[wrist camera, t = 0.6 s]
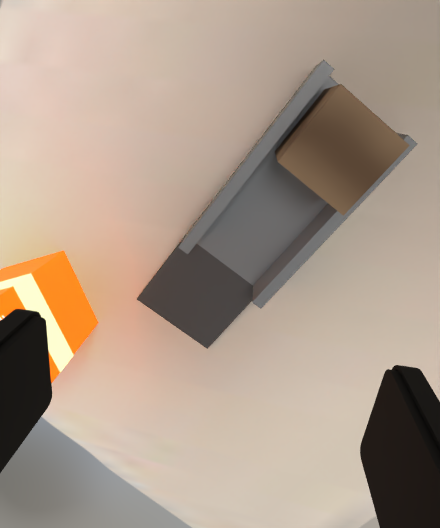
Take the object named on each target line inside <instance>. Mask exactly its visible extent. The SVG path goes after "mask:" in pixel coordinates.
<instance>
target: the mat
mask: <svg viewBox="0 0 440 528" xmlns="http://www.w3.org/2000/svg"><path fill="white" fill-rule="evenodd" d="M184 238H185V237H184ZM184 238H183V239H184ZM182 241H183V240H182ZM182 241H181V242H180V243H179V245H178V246H177V247H176V249H175V250H174V251H173V252H172V254H171V255H170V256H169V258H168V259H167V260H166V262H165V263H164V264H163V265H162V267H161V268H160V269H159V271H158V272H157V273H156V275H155V276H154V277H153V278H152V280H151V281H150V282H149V284H148V285H147V286H146V288H145V289H144V290H143V291H142V293H141V294H140V295H139V297H138V298H137V300H139V301H140V302H142V303H143V304H144V305H146V306H147V307H149V308H150V309H152V310H153V311H154V312H156V313H157V314H159V315H160V316H162V317H163V318H164V319H166V320H167V321H169V322H170V323H171V324H173V325H174V326H176V327H177V328H179V329H180V330H181V331H183V332H184V333H186V334H187V335H189V336H190V337H191V338H193V339H194V340H196V341H197V342H199V343H200V344H201V345H203V346H204V347H206V348H208V347H209V346H210V345H211V344H212V343H213V342H214V341H215V340H216V339H217V338H218V337H219V336H220V334H221V333H222V332H223V331H224V330H225V329H226V328H227V327H228V326H229V325H230V324H231V323H232V322H233V320H234V319H235V318H236V317H237V316H238V315H239V314H240V313H241V312H242V311H243V310H244V309H245V308H246V306H247V305H248V304H249V303H250V302H251V301H252V297H253V285H251V284H250V283H249V282H247V281H246V280H245V279H243V278H242V277H241V276H239V275H238V274H237V273H235V272H234V271H233V270H231V269H230V268H229V267H227V266H226V265H225V264H223V263H222V262H221V261H219V260H218V259H217V258H215V257H214V256H213V255H211V254H210V253H209V252H207V251H206V250H205V249H203V248H202V247H201V246H199V245H198V244H197V243H196V245H195V246H194V247H193V248H192V250H191V251H190V252H189V254H187V253H185V252H184V251H183V250H181V249H180V248H179V246H180V244H181V243H182Z"/></svg>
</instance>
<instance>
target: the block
mask: <svg viewBox="0 0 440 528" xmlns="http://www.w3.org/2000/svg"><path fill="white" fill-rule="evenodd" d="M409 146H410V145H409V144H408V143H407V142H405V141H404V140H403V139H402V138H401V137H400V136H399V135H398V134H396V133H395V132H394V131H393V130H392V129H391V128H390V127H389V126H387V125H386V124H385V123H384V122H383V121H382V120H381V119H380V118H378V117H377V116H376V115H375V114H374V113H373V112H372V111H371V110H370V109H368V108H367V107H366V106H365V105H364V104H363V103H362V102H361V101H359V100H358V99H357V98H356V97H355V96H354V95H353V94H352V93H350V92H349V91H348V90H347V89H346V88H345V87H344V86H343V85H341V84H339V85H336V86H333V87H330V88H327V89H324V90H323V92H322V93H321V94H320V95H319V97H318V98H317V99H316V100H315V102H314V103H313V104H312V105H311V107H310V108H309V109H308V110H307V112H306V113H305V114H304V115H303V117H302V118H301V119H300V120H299V122H298V123H297V124H296V125H295V127H294V128H293V129H292V130H291V132H290V133H289V134H288V135H287V137H286V138H285V139H284V140H283V142H282V143H281V144H280V146H279V147H278V148H277V149H276V151H275V154H276V158H277V161H278V162H279V163H280V164H281V165H282V166H283V167H285V168H286V169H287V170H288V171H289V172H291V173H292V174H293V175H294V176H296V177H297V178H298V179H299V180H300V181H302V182H303V183H304V184H305V185H306V186H308V187H309V188H310V189H311V190H313V191H314V192H315V193H316V194H317V195H319V196H320V197H321V198H322V199H323V200H325V201H326V202H327V203H328V204H330V205H331V206H332V207H333V208H334V209H336V210H337V211H338V212H339V213H340V214H342V215H343V216H344V215H345V214H346V213H347V211H348V210H349V209H350V208H351V207H352V206H353V205H354V204H355V203H356V202H357V201H358V200H359V199H360V198H361V197H362V196H363V194H364V193H365V192H366V191H367V190H368V189H369V188H370V187H371V186H372V185H373V184H374V183H375V182H376V181H377V180H378V179H379V178H380V176H381V175H382V174H383V173H384V172H385V171H386V170H387V169H388V168H389V167H390V166H391V165H392V164H393V163H394V162H395V161H396V160H397V158H398V157H399V156H400V155H401V154H402V153H403V152H404V151H405V150H406V149H407V148H408V147H409Z"/></svg>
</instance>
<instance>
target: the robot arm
mask: <svg viewBox="0 0 440 528" xmlns="http://www.w3.org/2000/svg"><path fill="white" fill-rule="evenodd" d="M51 398H52V386H51V374H50V362H49V350H48V338H47V326H46V320H45V318H43V317H41V315H40V313H39V312H37V311H31V310H25V309H15V310H13V311H12V312H11V313H9V314H8V315H7V316H6V317H5V318H3V319H2V320H1V321H0V473H1V471H2V470H3V469H4V467H5V466H6V464H7V463H8V462H9V460H10V459H11V457H12V456H13V455H14V453H15V452H16V451H17V449H18V448H19V446H20V445H21V444H22V442H23V441H24V439H25V438H26V437H27V435H28V434H29V433H30V431H31V430H32V428H33V427H34V426H35V424H36V423H37V421H38V420H39V419H40V417H41V416H42V415H43V413H44V412H45V410H46V409H47V408H48V406H49V404H50V402H51ZM360 455H361V460H362V464H363V468H364V471H365V475H366V478H367V482H368V486H369V489H370V493H371V497H372V500H373V504H374V508H375V511H376V515H377V519H378V522H379V526H380V528H440V402H439V400H438V398H437V397H436V395H435V393H434V392H433V390H432V388H431V386H430V385H429V383H428V381H427V380H426V378H425V376H424V375H423V373H422V371H421V370H420V369H418V368H413V367H406V366H399V365H395V366H394V367H393V368H392V370H389V369H388V370H386V371H385V374H384V376H383V379H382V382H381V385H380V388H379V391H378V394H377V397H376V400H375V403H374V406H373V409H372V412H371V415H370V418H369V421H368V424H367V427H366V430H365V433H364V436H363V439H362V442H361V447H360Z"/></svg>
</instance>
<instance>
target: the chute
mask: <svg viewBox="0 0 440 528" xmlns="http://www.w3.org/2000/svg"><path fill="white" fill-rule="evenodd" d="M333 70H334V68H333V67H331V66H330V65H329V64H328V63H327V62H326V61H325V60H323V61H322V62H320V63H319V64H318V65H317V66H316V67H315V68H314V69H313V71H312V72H311V73H310V75H309V76H308V77H307V79H306V80H305V81H304V82H303V84H302V85H301V86H300V88H299V89H298V90H297V92H296V93H295V94H294V95H293V97H292V98H291V99H290V101H289V102H288V103H287V105H286V106H285V107H284V108H283V110H282V111H281V112H280V114H279V115H278V116H277V117H276V119H275V120H274V121H273V123H272V124H271V125H270V127H269V128H268V129H267V130H266V132H265V133H264V134H263V136H262V137H261V138H260V140H259V141H258V142H257V143H256V145H255V146H254V147H253V149H252V150H251V151H250V153H249V154H248V155H247V156H246V158H245V159H244V160H243V162H242V163H241V164H240V166H239V167H238V168H237V169H236V171H235V172H234V173H233V175H232V176H231V177H230V179H229V180H228V181H227V182H226V184H225V185H224V186H223V188H222V189H221V190H220V191H219V193H218V194H217V195H216V197H215V198H214V199H213V201H212V202H211V203H210V204H209V206H208V207H207V208H206V210H205V211H204V212H203V214H202V215H201V216H200V217H199V219H198V220H197V221H196V223H195V224H194V225H193V227H192V228H191V229H190V230H189V232H188V233H187V234H186V236H185V238H184V239H183V241H182V243H181V244H180V246H179V248H180V249H181V250H183V251H184V252H185V253H187V254H189V252H190V251H191V250H192V248H193V247H194V246H195V245H196V243H197V244H198V245H199V246H201V247H202V248H203V249H205V250H206V251H207V252H209V253H210V254H211V255H213V256H214V257H215V258H217V259H218V260H219V261H221V262H222V263H223V264H225V265H226V266H227V267H229V268H230V269H231V270H233V271H234V272H235V273H237V274H238V275H239V276H241V277H242V278H243V279H245V280H246V281H247V282H249V283H250V284H251V285H253V297H252V302H253V303H254V304H255V305H257V306H258V307H259V308H262V307H263V306H264V305H265V304H266V303H267V302H268V301H269V300H270V299H271V297H272V296H273V295H274V294H275V293H276V292H277V291H278V290H279V289H280V288H281V287H282V286H283V285H284V284H285V283H286V282H287V281H288V280H289V279H290V278H291V276H292V275H293V274H294V273H295V272H296V271H297V270H298V269H299V268H300V267H301V266H302V265H303V264H304V263H305V262H306V261H307V260H308V259H309V258H310V256H311V255H312V254H313V253H314V252H315V251H316V250H317V249H318V248H319V247H320V246H321V245H322V244H323V243H324V242H325V241H326V240H327V239H328V238H329V236H330V235H331V234H332V233H333V232H334V231H335V230H336V229H337V228H338V227H339V226H340V225H341V224H342V223H343V222H344V221H345V220H346V219H347V218H348V216H349V215H350V214H351V213H352V212H353V211H354V210H355V209H356V208H357V207H358V206H359V205H360V204H361V203H362V202H363V201H364V200H365V199H366V198H367V196H368V195H369V194H370V193H371V192H372V191H373V190H374V189H375V188H376V187H377V186H378V185H379V184H380V183H381V182H382V181H383V180H384V179H385V178H386V177H387V175H388V174H389V173H390V172H391V171H392V170H393V169H394V168H395V167H396V166H397V165H398V164H399V163H400V162H401V161H402V160H403V159H404V158H405V157H406V155H407V154H408V153H409V152H410V151H411V150H412V149H413V148H414V147H415V146H416V145H417V143H416V142H415V141H414V140H413V139H412V138H411V137H410V136H408V135H405V134H399V133H396V134H398V135H399V136H400V137H401V138H402V139H403V140H404V141H405V142H407V143H408V144H409V145H410V146H409V147H408V148H407V149H406V150H405V151H404V152H403V153H402V154H401V155H400V156H399V157H398V158H397V160H396V161H395V162H394V163H393V164H392V165H391V166H390V167H389V168H388V169H387V170H386V171H385V172H384V173H383V174H382V175H381V176H380V178H379V179H378V180H377V181H376V182H375V183H374V184H373V185H372V186H371V187H370V188H369V189H368V190H367V191H366V192H365V193H364V194H363V196H362V197H361V198H360V199H359V200H358V201H357V202H356V203H355V204H354V205H353V206H352V207H351V208H350V209H349V210H348V211H347V213H346V214H345V215H344V216H343V215H342V214H340V213H339V212H338V211H337V210H336V209H334V208H333V207H332V206H331V205H330V204H328V203H327V202H326V201H325V200H323V199H322V198H321V197H320V196H319V195H317V194H316V193H315V192H314V191H313V190H311V189H310V188H309V187H308V186H306V185H305V184H304V183H303V182H302V181H300V180H299V179H298V178H297V177H296V176H294V175H293V174H292V173H291V172H289V171H288V170H287V169H286V168H285V167H283V166H282V165H281V164H280V163H279V162H278V161H277V158H276V154H275V151H276V149H277V148H278V147H279V146H280V144H281V143H282V142H283V140H284V139H285V138H286V137H287V135H288V134H289V133H290V132H291V130H292V129H293V128H294V127H295V125H296V124H297V123H298V122H299V120H300V119H301V118H302V117H303V115H304V114H305V113H306V112H307V110H308V109H309V108H310V107H311V105H312V104H313V103H314V102H315V100H316V99H317V98H318V97H319V95H320V94H321V93H322V92H323V90H324V89H327V88H330V87H333V86H336V85H339V84H338V83H337V82H336V81H334V80H333V79H332V78H331V77H330V76H329V75H330V74H331V73H332V72H333Z"/></svg>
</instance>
